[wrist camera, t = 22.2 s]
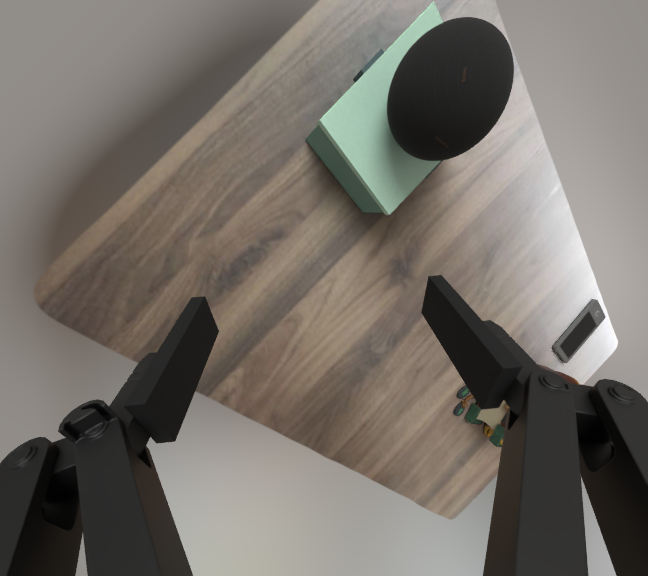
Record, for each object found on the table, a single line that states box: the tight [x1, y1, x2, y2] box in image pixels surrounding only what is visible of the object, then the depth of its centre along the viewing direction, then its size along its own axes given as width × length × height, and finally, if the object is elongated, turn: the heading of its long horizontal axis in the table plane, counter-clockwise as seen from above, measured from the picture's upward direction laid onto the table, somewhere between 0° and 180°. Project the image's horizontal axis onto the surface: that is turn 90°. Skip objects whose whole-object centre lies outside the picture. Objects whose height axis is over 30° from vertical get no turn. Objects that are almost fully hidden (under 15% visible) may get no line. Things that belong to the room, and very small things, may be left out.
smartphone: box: [553, 299, 605, 363], centre depth 61 cm, size 15×8×1 cm, turn 139°
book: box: [454, 365, 580, 447], centre depth 54 cm, size 27×21×10 cm
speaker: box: [387, 17, 514, 161], centre depth 23 cm, size 10×10×10 cm
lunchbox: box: [306, 2, 443, 215], centre depth 30 cm, size 16×13×7 cm
